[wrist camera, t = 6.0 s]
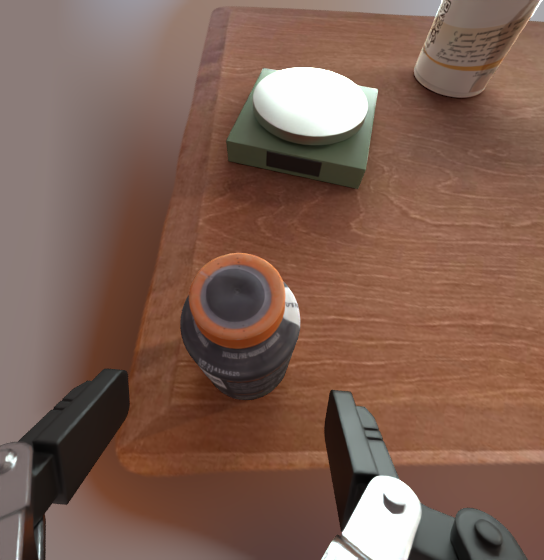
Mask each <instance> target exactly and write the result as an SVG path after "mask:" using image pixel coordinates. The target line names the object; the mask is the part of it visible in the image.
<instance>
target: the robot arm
mask: <svg viewBox="0 0 544 560" xmlns="http://www.w3.org/2000/svg"><path fill="white" fill-rule="evenodd" d="M129 404H130V403H129V386H128V374H127V371H125V370H116V369H104V370H102V371H101V372H100V373H99V374H98V375H97V376H96V377H95V378H94V379H93V380H92V381H86V382H85V383H83V384H81V385H79V386H77V387H76V388H74V389H73V390H72V391H70V392H69V393H68V395H66V396H65V397H64V398H63V400H62V401H60V402H59V403H58V404H57V405H56V406H55V407H54V409H53V410H51V411H49V412H48V413H47V414H46V415H45V416H44V417H43V418H42V419H41V420H40V421H39V422H38V423H37V424H36V425H35V426H34V427H33V428H32V429H31V430H30V431H28V432H27V433H26V434H25V435H24V436H23V437H22V438H21V439H20V440H19V441H18V442H11V443H7V444H3V445H1V446H0V560H45V535H46V534H45V533H46V532H45V531H46V525H45V524H46V519H45V512H46V511H47V510H48V508H49V507H50V505H51V504H52V503H55V504H66V505H67V504H68V503H69V501H70V500H71V498H72V497H73V495H74V494H75V492H76V491H77V489H78V488H79V487H80V485H81V484H82V482H83V481H84V479H85V478H86V476H87V475H88V473H89V472H90V470H91V469H92V467H93V466H94V464H95V463H96V462H97V460H98V459H99V457H100V456H101V454H102V453H103V451H104V450H105V448H106V447H107V445H108V444H109V442H110V441H111V440H112V438H113V437H114V435H115V434H116V432H117V431H118V429H119V428H120V426H121V425H122V423H123V422H124V420H125V419H126V416H127V414H128V411H129ZM324 434H325V443H326V448H327V454H328V460H329V465H330V471H331V476H332V482H333V488H334V494H335V499H336V504H337V511H338V517H339V522H340V527H341V532H343V533H342V534H341V536H339V535H336V536H335V538H334V539H333V541H332V542H331V544H330V546H329V547H328V549H327V551H326V553H325V555H324V556H323V558H322V560H527V558H526V556H525V554H524V553H523V551H522V550H521V548H520V546H519V545H518V543H517V541H516V540H515V539H514V537H513V536H512V534H511V533H510V532H509V531H508V530H507V529H506V528H505V527H504V526H503V525H502V524H501V523H500V522H499V521H498V520H496V519H495V518H493V517H492V516H490V515H489V514H487V513H485V512H483V511H480V510H478V509H474V508H463V509H461V510H460V511H458V513H457V514H456V517H455V518H454V517H451V516H449V515H446V514H444V513H441V512H439V511H436V510H434V509H431V508H429V507H427V506H425V505H423V504H421V503H420V502H419V500H418V498H417V496H416V495H415V493H414V492H413V491H412V490H411V489H410V488H409V487H408V486H407V485H406V484H405V483H403V482H402V481H400V479H399V477H398V475H397V472H396V470H395V467H394V465H393V462H392V460H391V458H390V455H389V453H388V450H387V448H386V445H385V443H384V441H383V438H382V436H381V433H380V431H379V428H378V426H377V423H376V421H375V418H374V417H373V416H372V414H371V413H370V412H369V411H368V410H367V409H366V408H365V407H362V406H356V405H355V402H354V399H353V396H352V393H351V392H349V391H338V390H331V391H330V395H329V401H328V407H327V413H326V418H325V427H324Z"/></svg>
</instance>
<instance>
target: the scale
mask: <svg viewBox="0 0 544 560" xmlns="http://www.w3.org/2000/svg"><path fill="white" fill-rule="evenodd" d="M377 93H378V89H374V88H368V87H363V86H358V85H356V84H355V83H353V82H352V81H351V80H349V79H347V78H345V77H343V76H341V75H339V74H336V73H334V72H331V71H327V70H323V69H317V68H303V67H300V68H290V69H284V70H280V71H277V70H271V69H266V68H263V70H262V72H261V73H260V75H259V77H258V79H257V81H256V83H255V85H254V87H253V89H252V91H251V93H250V95H249V97H248V99H247V101H246V103H245V105H244V107H243V109H242V111H241V113H240V115H239V117H238V119H237V120H236V122H235V124H234V126H233V128H232V130H231V132H230V134H229V136H228V138H227V140H226V143H227V152H228V161H231V162H236V163H240V164H245V165H249V166H254V167H259V168H263V169H268V170H273V171H277V172H282V173H287V174H291V175H296V176H301V177H305V178H310V179H314V180H319V181H324V182H328V183H333V184H338V185H342V186H347V187H352V188H356V189H358V188H359V186H360V183H361V181H362V178H363V176H364V173H365V171H366V165H367V159H368V152H369V146H370V139H371V132H372V126H373V119H374V113H375V106H376V100H377Z"/></svg>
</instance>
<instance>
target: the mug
mask: <svg viewBox="0 0 544 560" xmlns="http://www.w3.org/2000/svg"><path fill="white" fill-rule="evenodd" d="M541 1H542V0H442V2H441V5H440V7H439V9H438V12H437V14H436V17H435V19H434V21H433V24H432V26H431V28H430V31H429V33H428V36H427V38H426V40H425V43H424V45H423V48H422V50H421V52H420V55H419V57H418V60H417V62H416V64H415V67H414V74H415V77H416V79H417V80H418V81H419V82H420V83H421V84H422V85H423V86H425V87H426V88H428V89H430V90H432V91H434V92H436V93H439V94H442V95H445V96H450V97H458V98H466V97H472V96H475V95H478V94H479V93H481V92H482V91H483V90H484V89H485V88H486V86H487V84H488V83H489V81H490V80H491V78H492V77H493V75H494V74H495V72H496V70H497V69H498V67H499V66H500V64H501V63H502V61H503V60H504V58H505V57H506V55H507V53H508V52H509V50H510V49H511V47H512V46H513V44H514V43H515V41H516V39H517V38H518V36H519V35H520V33H521V32H522V30H523V29H524V27H525V26H526V24H527V22H528V21H529V19H530V17H531V16H532V15H533V13H534V12H535V10H536V8H537V7H538V5H539V4H540V2H541Z"/></svg>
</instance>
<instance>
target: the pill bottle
mask: <svg viewBox="0 0 544 560" xmlns="http://www.w3.org/2000/svg"><path fill="white" fill-rule="evenodd" d="M299 331H300V313H299V308H298V304H297V302H296V299H295V297H294V295H293V293H292V292H291V290H290V289H289V287H288V286H287V285H286V284H285V283H284V282H283V281H282V278H281V276H280V275H279V273H278V272H277V270H276V269H275V268H274V267H273V266H272V265H271V264H270V263H268V262H267V261H265V260H264V259H262V258H260V257H257V256H254V255H251V254H246V253H232V254H227V255H223V256H220V257H218V258H216V259H213V260H212V261H210V262H209V263H207V264H206V265H205V266H203V267H202V268H201V269H200V271H199V272H198V273H197V275H196V276H195V278H194V280H193V282H192V284H191V287H190V292H189V296H188V297H187V299H186V301H185V304H184V306H183V309H182V314H181V335H182V339H183V342H184V345H185V347H186V349H187V351H188V353H189V354H190V356H191V357H192V358H193V360H194V361H195V362H196V363H197V364H198V366H199V367H200V368H201V369H202V371H203V372H204V373H205V374H206V376H207V377H208V378H209V379H210V380H211V381H212V383H213V384H214V385H215V386H216V387H217V388H218V389H219V390H220V391H221V392H222V393H224V394H226V395H228V396H229V397H232V398H235V399H238V400H253V399H257V398H260V397H263V396H265V395H267V394H268V393H270V392H271V391H272V390H273V389H274V388H275V387H276V386H277V385H278V384H279V383H280V382H281V381H282V379H283V377H284V375H285V373H286V370H287V367H288V364H289V361H290V359H291V356H292V353H293V350H294V347H295V345H296V342H297V340H298V336H299Z"/></svg>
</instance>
